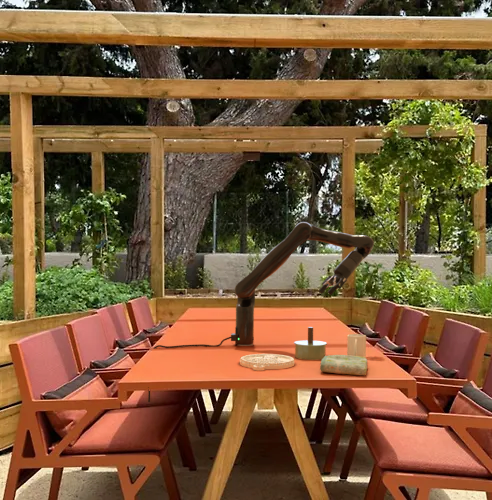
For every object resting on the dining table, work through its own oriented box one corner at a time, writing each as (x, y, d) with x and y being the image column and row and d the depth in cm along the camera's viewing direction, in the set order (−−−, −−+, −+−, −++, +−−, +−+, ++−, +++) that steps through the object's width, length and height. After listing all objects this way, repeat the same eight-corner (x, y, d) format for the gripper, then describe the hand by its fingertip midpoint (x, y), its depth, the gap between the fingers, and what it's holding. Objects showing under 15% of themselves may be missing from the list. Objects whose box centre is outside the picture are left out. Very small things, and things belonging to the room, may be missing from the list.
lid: (294, 347, 265) (295, 329, 265) (293, 342, 280) (293, 325, 280) (328, 348, 265) (328, 329, 265) (325, 342, 280) (325, 325, 280)
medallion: (299, 360, 266) (299, 355, 266) (285, 372, 240) (285, 366, 240) (248, 357, 272) (249, 352, 272) (229, 368, 246) (229, 362, 246)
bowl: (295, 360, 266) (296, 346, 266) (294, 355, 280) (294, 341, 280) (326, 361, 266) (326, 346, 266) (323, 355, 279) (323, 341, 279)
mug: (363, 366, 254) (363, 338, 254) (343, 365, 257) (343, 337, 257) (367, 361, 265) (367, 334, 265) (348, 360, 268) (348, 333, 268)
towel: (368, 366, 254) (368, 354, 254) (366, 377, 233) (366, 363, 233) (324, 364, 258) (325, 352, 258) (319, 374, 237) (319, 361, 237)
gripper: (333, 263, 298) (312, 286, 293) (348, 263, 285) (327, 288, 280) (342, 273, 300) (321, 297, 295) (358, 275, 287) (337, 299, 282)
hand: (324, 293), depth 288 cm, fingers open, 8 cm apart
